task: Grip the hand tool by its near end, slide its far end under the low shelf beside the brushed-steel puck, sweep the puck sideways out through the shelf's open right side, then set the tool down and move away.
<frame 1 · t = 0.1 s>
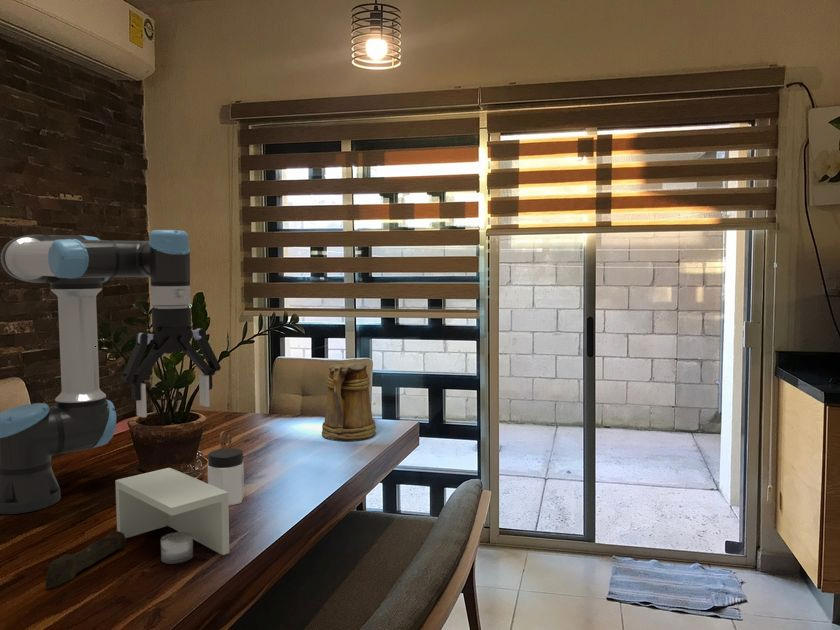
hand: (174, 410, 140), 28 cm above the table, tool pointing down, fingers open, 13 cm apart
jar: (226, 501, 168), on the table
hand tool: (87, 570, 131), on the table
steel puck: (177, 557, 136), on the table
low shelf: (171, 545, 141), on the table
gingerbread man figurine: (224, 475, 189), on the table
tankard: (347, 437, 229), on the table
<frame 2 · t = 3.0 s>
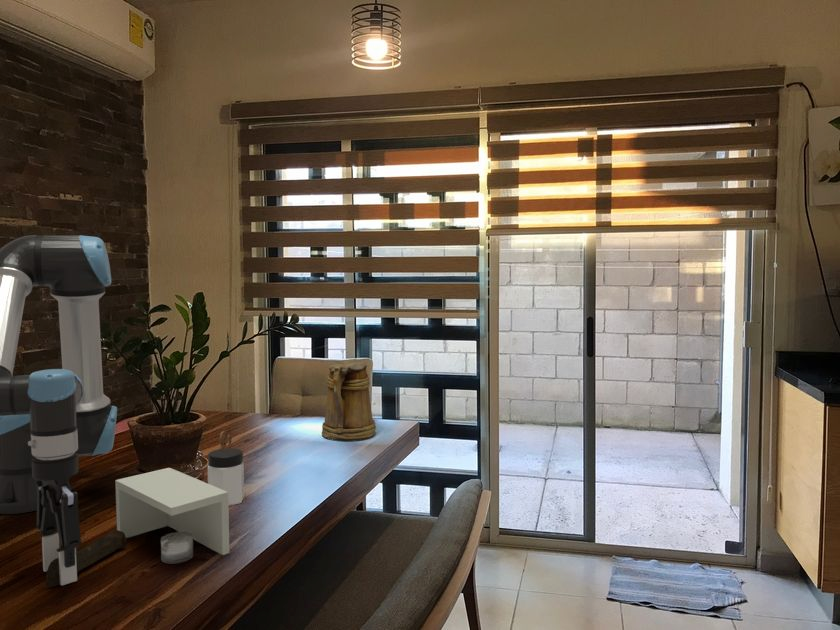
hand: (59, 575, 127), 0 cm above the table, tool pointing down, fingers open, 7 cm apart
nothing on the table moved.
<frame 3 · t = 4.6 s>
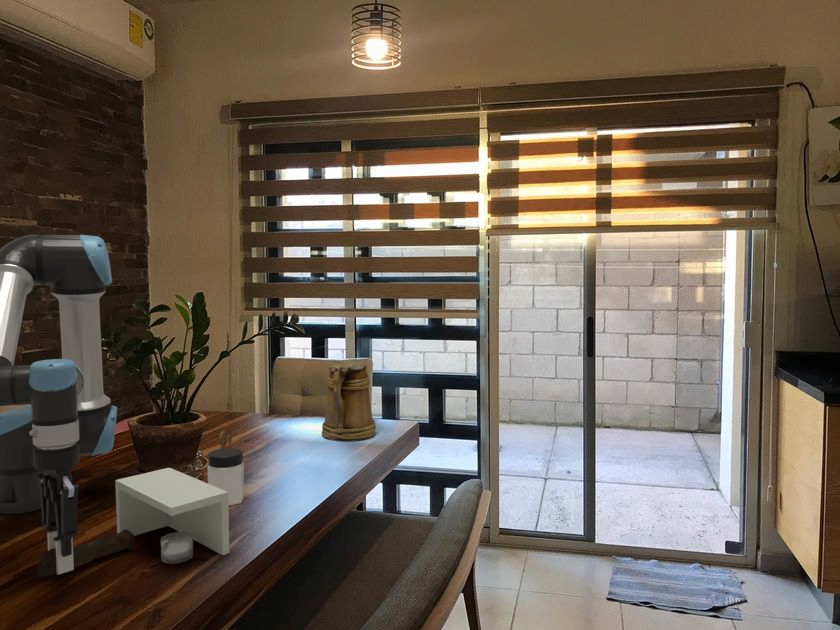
hand: (61, 568, 127), 2 cm above the table, tool pointing down, fingers closed on hand tool, 3 cm apart
hand tool: (87, 564, 131), on the table, touching gripper
everything else where it was.
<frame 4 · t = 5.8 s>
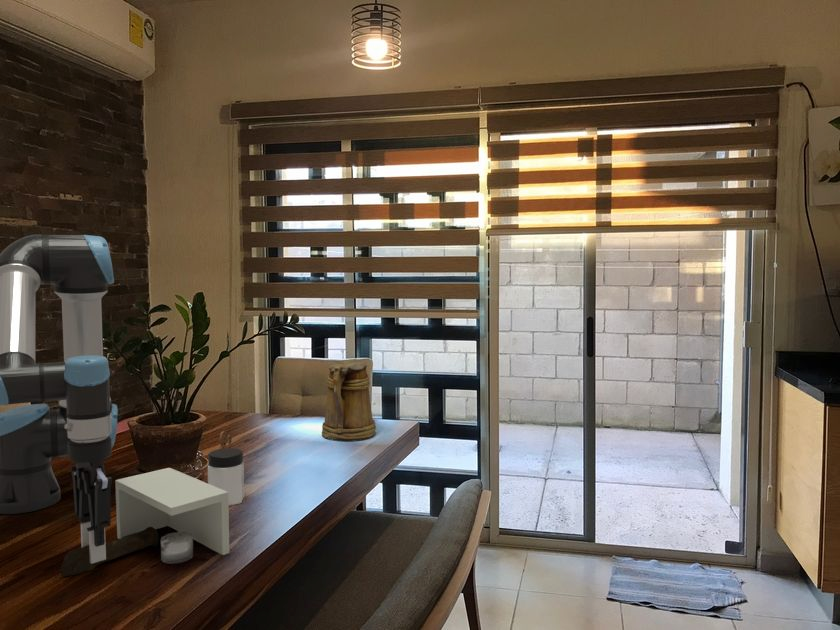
hand: (93, 557, 132), 2 cm above the table, tool pointing down, fingers open, 3 cm apart
hand tool: (112, 562, 134), on the table, touching gripper
everything else where it was.
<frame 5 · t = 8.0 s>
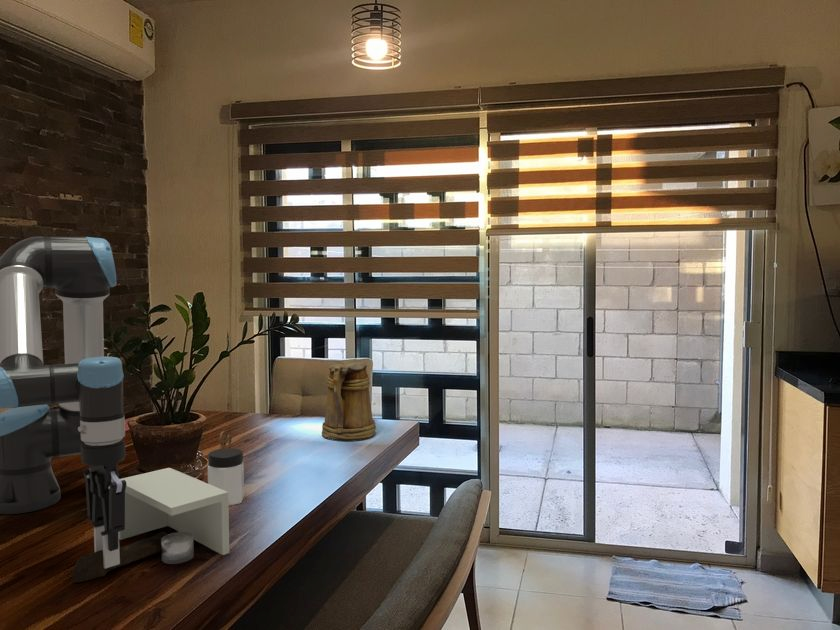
hand: (107, 562, 129), 2 cm above the table, tool pointing down, fingers closed on hand tool, 3 cm apart
hand tool: (124, 568, 132), on the table, touching gripper
everything else where it was.
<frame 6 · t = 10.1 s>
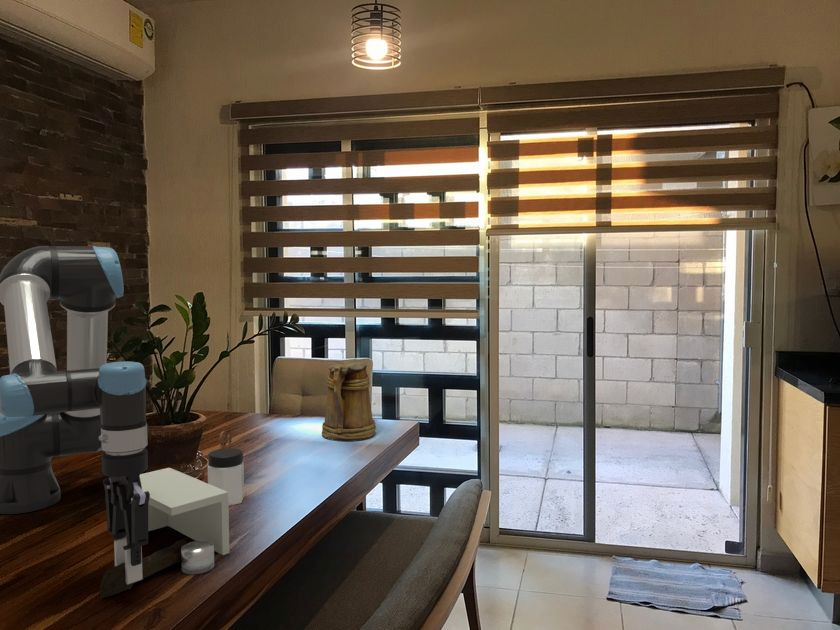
hand: (128, 577, 123), 2 cm above the table, tool pointing down, fingers closed on hand tool, 4 cm apart
hand tool: (148, 579, 126), on the table, touching gripper, steel puck
steel puck: (198, 567, 131), on the table, touching hand tool
everything else where it was.
when the fingers open (2 cm above the table, at t = 13.1 s): hand tool moves 2 cm, on the table.
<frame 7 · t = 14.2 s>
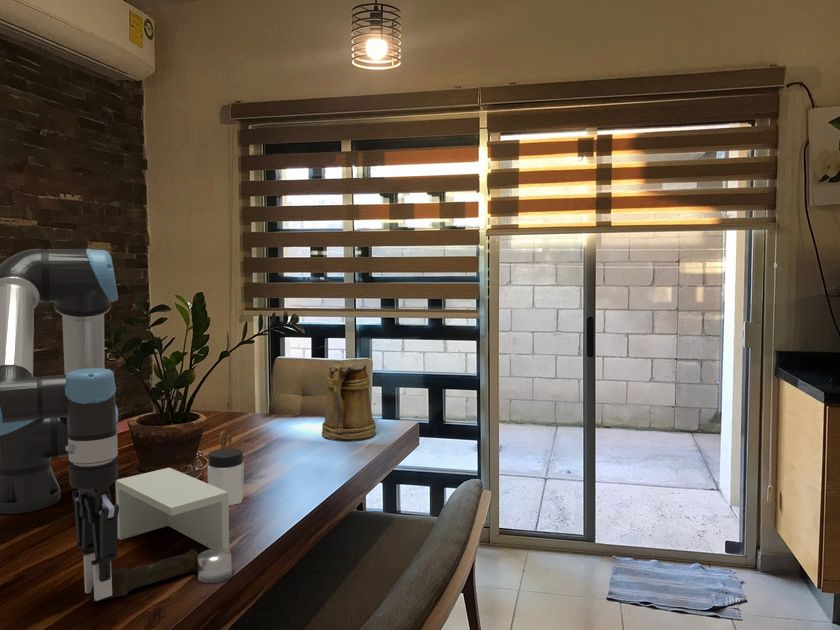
hand: (98, 593, 118), 1 cm above the table, tool pointing down, fingers open, 3 cm apart
hand tool: (148, 588, 123), on the table
steel puck: (214, 575, 128), on the table
everything else where it was.
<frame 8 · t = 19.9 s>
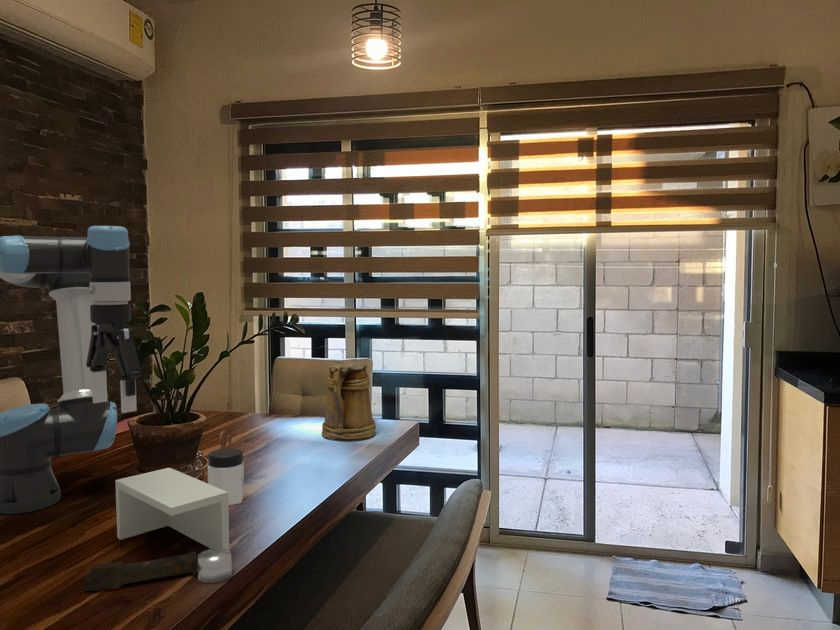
hand: (114, 406, 140), 29 cm above the table, tool pointing down, fingers open, 13 cm apart
hand tool: (143, 584, 125), on the table
everything else where it was.
at the end: steel puck inside the target area (0.2 cm from its centre), on the table; the gripper is holding nothing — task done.
